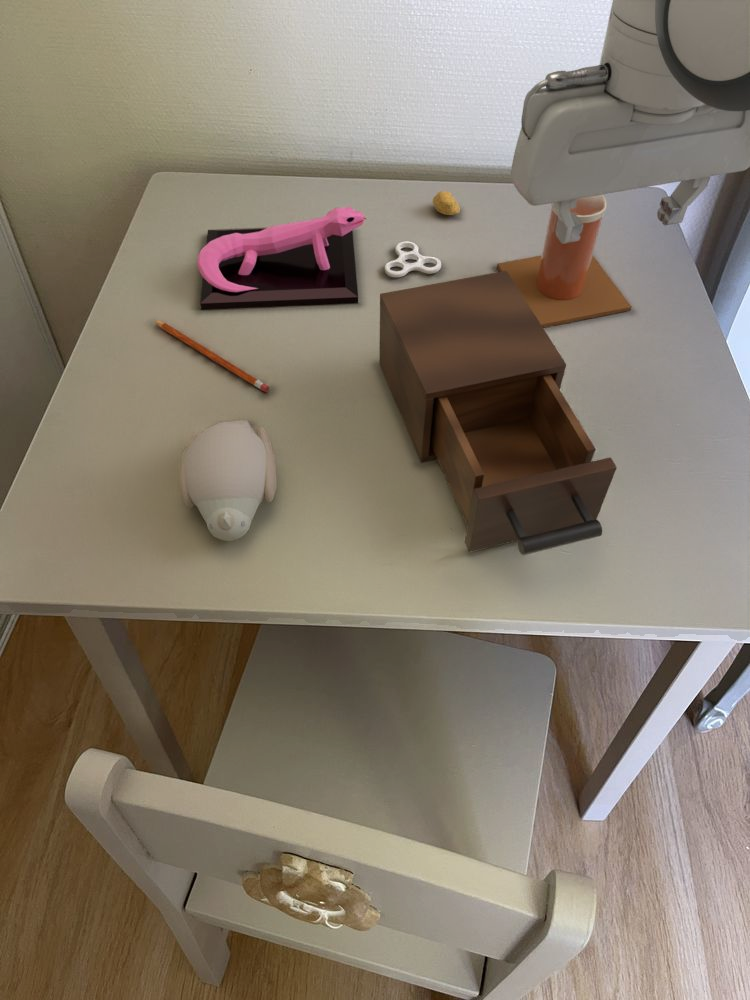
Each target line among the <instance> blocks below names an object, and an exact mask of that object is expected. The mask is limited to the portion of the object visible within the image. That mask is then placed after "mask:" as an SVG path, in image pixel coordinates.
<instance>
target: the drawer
mask: <svg viewBox="0 0 750 1000" xmlns="http://www.w3.org/2000/svg"><path fill="white" fill-rule="evenodd" d="M430 444H431V446H432V448H433V451H434V453H435V455H436V457H437V459H436V461H437V462H438V464H439V466H440V468H441V471H442V474H443V476H444V478H445V480H446V482H447V485H448V487H449V489H450V491H451V494H452V496H453V498H454V500H455V502H456V505H457V507H458V509H459V512H460V514H461V516H462V519H463V521H464V523H465V525H466V533H465V537H464V544H465V547H466V548H467V551H468V552H469V553H472V552H476V551H480V550H481V551H482V550H484V549H490V548H493V547H496V546H500V545H505V544H509V543H512V542H517V548H518V551H519V553H520V555H522V556H526V555H530V554H534V553H537V552H541V551H546V550H549V549H550V550H551V549H553V548H557V547H561V546H565V545H570V544H573V543H578V542H581V541H586V540H591V539H594V538H597V537H601V536H602V535H603V526H602V524H601V522H600V520H598V517H599V514H600V511H601V509H602V506H603V504H604V502H605V498H606V496H607V494H608V491H609V488H610V486H611V483H612V481H613V478H614V476H615V473H616V471H617V465H616V464H615V462H614V460H613V458H612V457H611V456H610V457H606V458H605V457H604V458H601V459H597V460H593V458H594V455H595V452H596V447H595V445H594V443H593V441H592V440H591V439H590V437H589V435H588V434H587V432H586V430H585V429H584V427H583V425H582V423H581V422H580V421H579V419H578V417H577V416H576V414H575V412H574V411H573V409H572V407H571V405H570V404H569V403H568V401H567V399H566V397H565V396H564V394H563V393H562V391H561V388H560V389H559V388H558V386H557V385H556V383H555V381H554V380H553V378H552V376H551V375H550V374H547V375H542V376H537V377H532V378H528V379H523V380H518V381H513V382H509V383H504V384H499V385H494V386H489V387H485V388H480V389H475V390H470V391H466V392H461V393H456V394H451V395H446V396H442V397H437V398H434V401H433V413H432V424H431V436H430ZM592 460H593V461H592Z"/></svg>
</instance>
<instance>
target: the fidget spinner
mask: <svg viewBox="0 0 750 1000" xmlns="http://www.w3.org/2000/svg"><path fill="white" fill-rule="evenodd" d="M404 248H409V249H412V250H411V251H404V250H401V249H404ZM394 250H395V251H394V252H395V253H396V255H397V256H398V258H395V259H393V260H389V261H388V262H386V264H385V265H384V273H385V274H386V275H387V276H388V277H391V278H402V277H404V276H406V275H407V274H408V273H409V272H412V271H413V272H414V271H418V272H422V273H424V274H428V275H429V274H431V275H432V274H436V273H438V272H439V271H440V270H441V268H442V261H441V260H440V259H439V258H437V257H436V256H435V257H434V256H427V255H423V254H421V253H419V246H418V245H417V244H416V243H415V242H412V241H407V240H406V241H401V242H399V243H397V244H396V245H395V248H394ZM407 260H414V261H415V262H407ZM428 263H429V264H430V263H431V264H434V266H432V267H429V266H425V264H428ZM394 267H398V268H401V270H392V269H391V268H394Z"/></svg>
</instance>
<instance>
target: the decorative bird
mask: <svg viewBox="0 0 750 1000" xmlns="http://www.w3.org/2000/svg"><path fill="white" fill-rule="evenodd" d="M277 475H278V473H277V464H276V459H275V454H274V449H273V447H272V444H271V441H270V438H269V436H268V433H267V432H266V430H265V429H264V427H262V426H261V425H259V426H258V427H257V431H255V430H254V429H253V427H252V426H251V425H250V423H249V421H248V420H247V419H244V420H242V419H241V420H229V421H220V422H219V423H216V424H213V425H211V426H208V427H207V428H206V429H204V430H201V429H200V430H199V429H198V430H196V431H195V432H194V433H193V434H192V435H191V436H190V438H189V440H188V441H187V443H186V446H185V448H184V451H183V452H182V456H181V459H180V465H179V473H178V482H179V483H178V484H179V485H178V486H179V491H180V496H181V498H182V501H183V504H184V505H185V506H186V507H187V508H193V507H194V505H195V507H196V508H197V509H198V511H199V513H200V514H201V517H202V518H203V520H204V522H205V523H206V526H207V529H208V531H209V533H210V534H211V535H212V536H213V537H214V538H216V539H218V540H221V541H225V542H230V541H235V540H238V539H241V538H242V537H243V536H245V535H246V534H247V533H248V531H249V530H250V528H251V525H252V521H253V519H254V516H255V514H256V512H257V510H258V508H259V505H261V503H262V501H264V499H265V500H266V502H267V503H271V502H272V501H273V500H274V497H275V495H276V491H277V483H278V482H277V481H278V477H277Z"/></svg>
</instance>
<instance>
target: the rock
mask: <svg viewBox="0 0 750 1000" xmlns="http://www.w3.org/2000/svg"><path fill="white" fill-rule="evenodd" d="M432 204H433V207H434V209H435V210H436V211H437V212H439V213H440V214H442V215H445V216H446V215H447V216H454V215H457V214H459V213H460V212H461V208H460V205H459V203H458V201H457V200H456V199H455V197H454V195H453V194H452V193H451V192H449V191H446V190H443V191H439V192H437V193H436V194H435V196H433V198H432Z"/></svg>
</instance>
